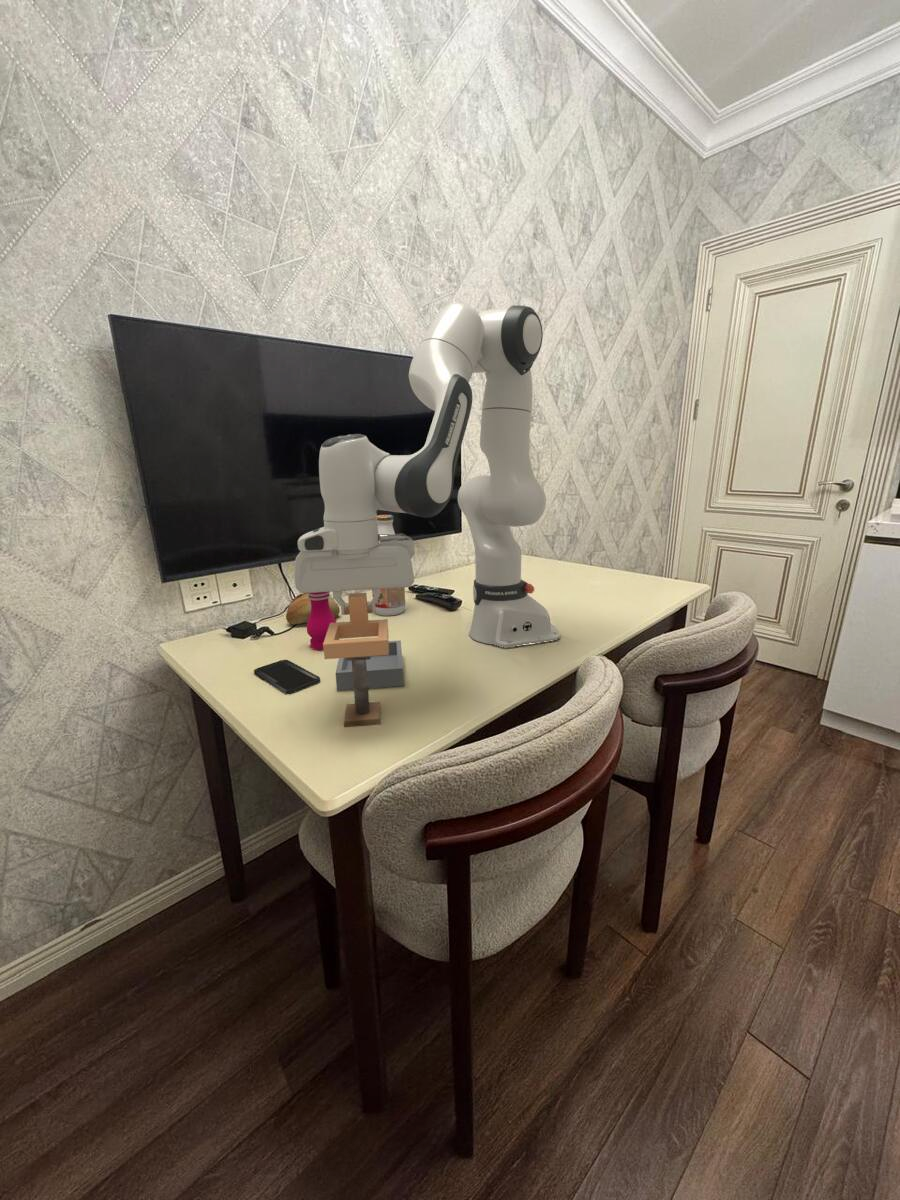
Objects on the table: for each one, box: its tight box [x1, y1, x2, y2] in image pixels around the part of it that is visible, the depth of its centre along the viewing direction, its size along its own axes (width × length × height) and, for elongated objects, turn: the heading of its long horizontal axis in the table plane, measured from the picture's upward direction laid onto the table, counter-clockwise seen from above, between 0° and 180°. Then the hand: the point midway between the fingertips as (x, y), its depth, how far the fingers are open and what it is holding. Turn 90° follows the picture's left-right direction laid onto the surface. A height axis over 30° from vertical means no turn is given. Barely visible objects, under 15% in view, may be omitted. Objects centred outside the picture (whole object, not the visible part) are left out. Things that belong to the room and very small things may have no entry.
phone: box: [253, 659, 321, 695], centre depth 99 cm, size 8×1×15 cm
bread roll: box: [285, 593, 341, 625], centre depth 133 cm, size 10×15×8 cm, turn 126°
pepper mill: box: [306, 592, 337, 651], centre depth 113 cm, size 7×7×20 cm
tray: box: [335, 639, 405, 692], centre depth 100 cm, size 13×15×4 cm
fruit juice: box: [372, 514, 406, 617], centre depth 136 cm, size 9×9×28 cm
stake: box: [343, 656, 381, 728], centre depth 82 cm, size 6×6×12 cm
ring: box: [323, 592, 390, 660], centre depth 80 cm, size 10×12×7 cm
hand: (358, 613), depth 85 cm, fingers closed on ring, 3 cm apart
